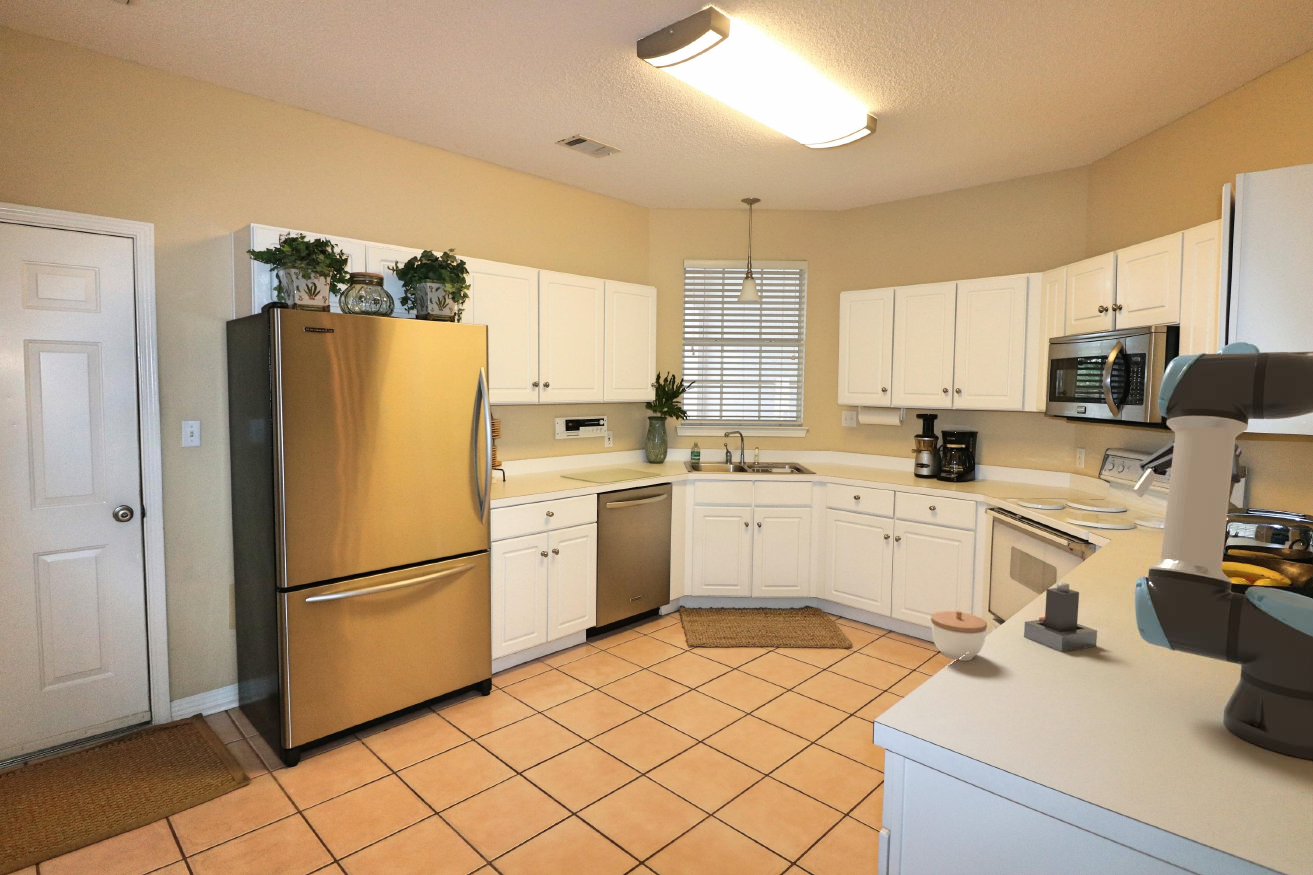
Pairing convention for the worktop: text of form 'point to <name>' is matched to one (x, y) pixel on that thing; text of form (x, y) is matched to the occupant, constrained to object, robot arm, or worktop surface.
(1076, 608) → the plug
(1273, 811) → the worktop surface
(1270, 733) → the robot arm
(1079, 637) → the socket
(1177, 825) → the worktop surface
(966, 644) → the lidded jar
